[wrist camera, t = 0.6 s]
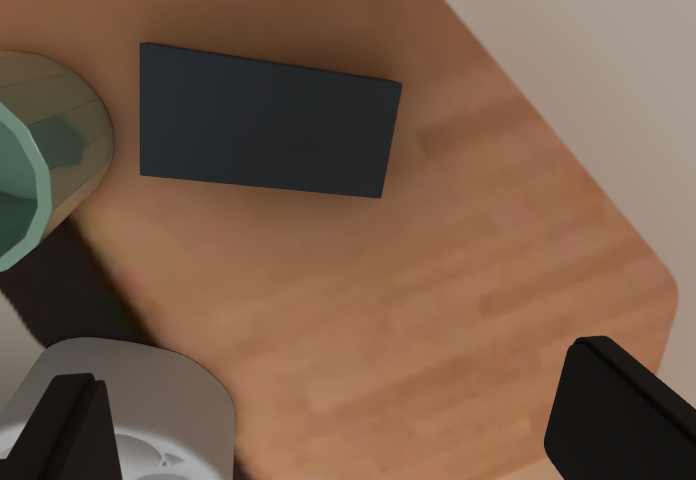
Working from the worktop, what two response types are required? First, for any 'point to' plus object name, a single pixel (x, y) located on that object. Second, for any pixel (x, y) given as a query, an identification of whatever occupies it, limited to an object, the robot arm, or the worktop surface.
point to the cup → (46, 149)
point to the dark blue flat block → (263, 123)
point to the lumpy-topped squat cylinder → (141, 408)
